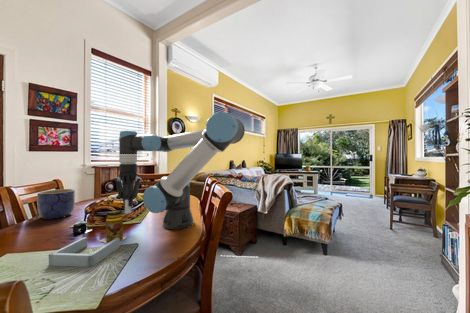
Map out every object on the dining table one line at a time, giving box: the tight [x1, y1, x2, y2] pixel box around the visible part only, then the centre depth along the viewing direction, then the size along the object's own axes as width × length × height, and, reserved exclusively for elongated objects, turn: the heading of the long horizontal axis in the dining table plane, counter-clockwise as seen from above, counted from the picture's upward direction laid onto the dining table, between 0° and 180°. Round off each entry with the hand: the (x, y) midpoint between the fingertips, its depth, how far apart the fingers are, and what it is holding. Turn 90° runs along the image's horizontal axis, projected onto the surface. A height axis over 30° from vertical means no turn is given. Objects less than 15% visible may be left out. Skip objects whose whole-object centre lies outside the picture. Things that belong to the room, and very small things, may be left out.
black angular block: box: [65, 222, 93, 238], centre depth 94 cm, size 12×7×5 cm, turn 169°
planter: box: [36, 188, 76, 220], centre depth 120 cm, size 17×16×15 cm
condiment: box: [98, 209, 129, 244], centre depth 86 cm, size 7×8×12 cm
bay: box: [48, 236, 121, 268], centre depth 72 cm, size 14×14×4 cm
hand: (128, 213), depth 97 cm, fingers closed
